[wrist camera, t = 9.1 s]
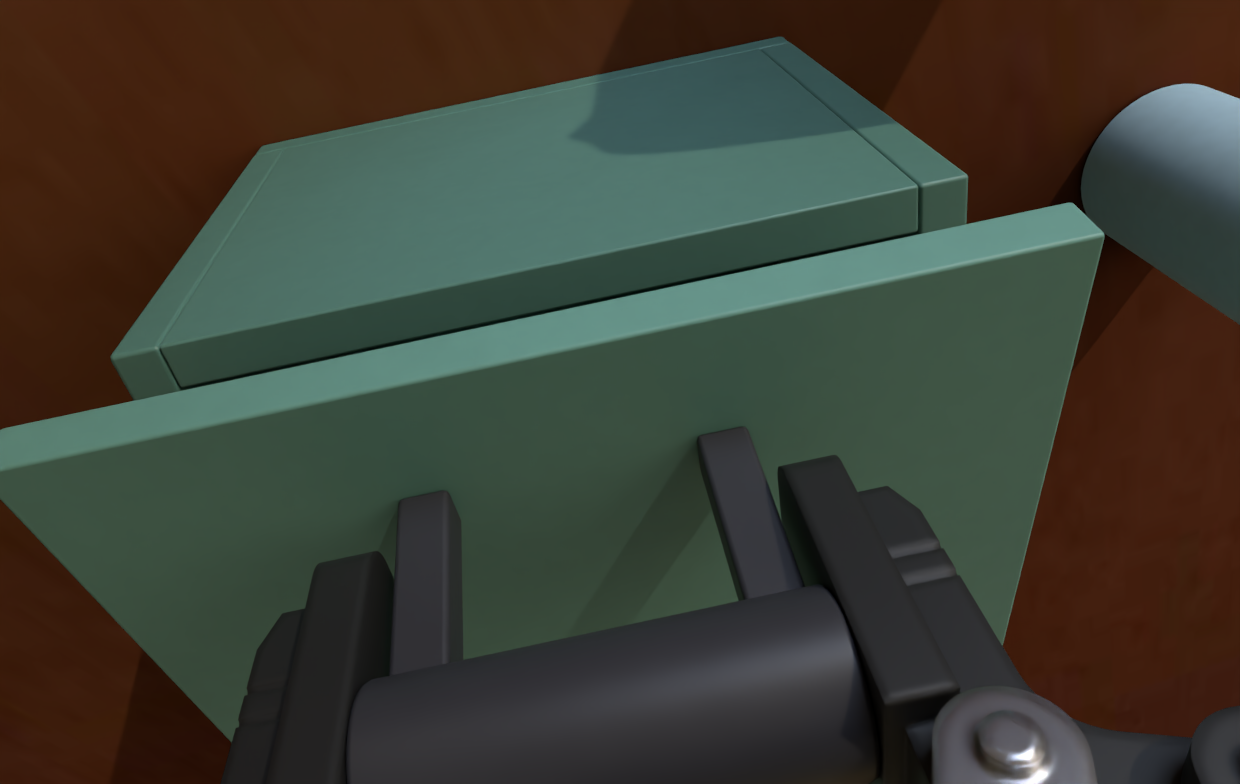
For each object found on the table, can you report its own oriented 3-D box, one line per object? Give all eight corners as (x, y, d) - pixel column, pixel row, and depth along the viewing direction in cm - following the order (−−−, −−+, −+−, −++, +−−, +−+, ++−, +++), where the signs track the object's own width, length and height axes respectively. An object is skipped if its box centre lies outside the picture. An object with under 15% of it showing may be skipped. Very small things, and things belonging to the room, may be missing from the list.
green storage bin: (260, 145, 23) (106, 357, 14) (782, 34, 23) (969, 175, 14) (442, 599, 32) (421, 907, 23) (816, 519, 32) (944, 794, 23)
